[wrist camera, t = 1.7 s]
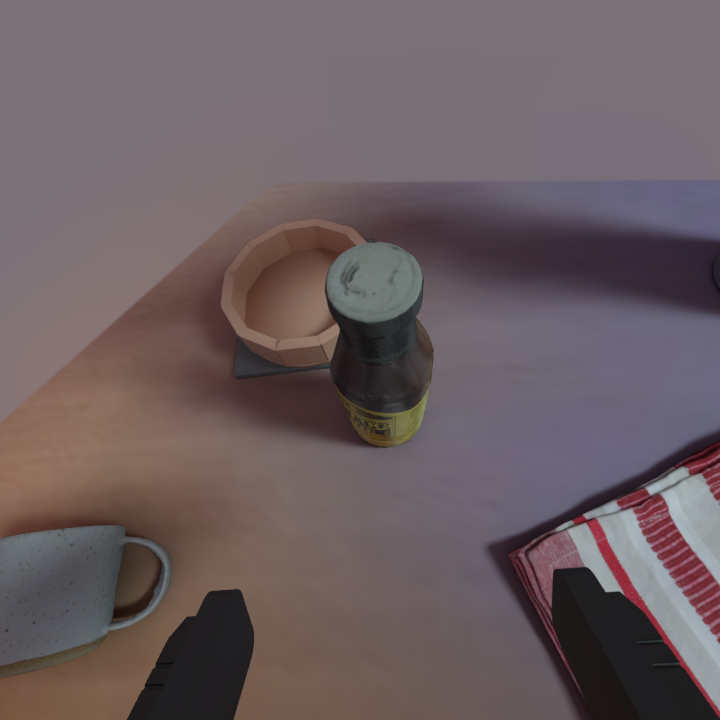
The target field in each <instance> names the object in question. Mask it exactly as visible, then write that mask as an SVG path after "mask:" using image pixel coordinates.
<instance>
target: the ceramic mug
mask: <svg viewBox="0 0 720 720" xmlns="http://www.w3.org/2000/svg"><path fill="white" fill-rule="evenodd" d="M126 543H137V544H140V545H144V546H147V547H148V548H150V549H151V550H152V551H153V552H155V553H156V555H157V556H158V557H159V558H160V559H161V561H162V569H161V574H160V580H159V583H158V585H157V587H156V588H155V589H154V591H153V598H152V599H151V601H150V602H149V604H148V607H146V608H145V609H144V610H143V611H142V612H140V613H139V614H137V615H135V616H134V617H131V618H128V619H125V620H121V621H115V622H114V621H112V617H113V610H114V604H115V593H116V586H117V581H118V575H119V570H120V566H121V559H122V556H123V547H124V544H126ZM170 577H171V562H170V559H169V555H168V554H167V552H166V550H165V549H164V548H163V547H162V546H160V545H159V544H158V543H156V542H154V541H152V540H148V539H144V538H138V537H127V536H126V528H125V527H124V526H120V525H97V526H83V527H74V528H63V529H55V530H46V531H38V532H32V533H26V534H19V535H14V536H9V537H3V538H0V678H4V677H9V676H14V675H19V674H23V673H27V672H32V671H35V670H39V669H43V668H47V667H51V666H54V665H57V664H60V663H64V662H67V661H70V660H73V659H75V658H78V657H81V656H84V655H86V654H88V653H90V652H92V651H93V650H94V649H96V648H97V647H98V646H99V645H100V644H101V643H102V642H103V641H104V640H105V638H106V635H107V633H108V632H109V631H111V630H117V629H122V628H124V627H127V626H130V625H132V624H134V623H136V622H138V621H140V620H141V619H143V618H144V617H146V616H147V615H149V614H150V613H151V612H152V611H153V610H154V609H155V608H156V607H157V606H158V604H159V603H160V602H161V600H162V598H163V597H164V595H165V593H166V591H167V589H168V586H169V582H170Z"/></svg>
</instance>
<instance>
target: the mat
mask: <svg viewBox="0 0 720 720" xmlns="http://www.w3.org/2000/svg"><path fill="white" fill-rule="evenodd" d="M365 241H366V242H367V243H375V241H374V239H371V240H365ZM330 364H331V362H330V363H327V364H324V365H320V366H315V367H310V368H290V367H285V366H280V365H277V364H274V363H271V362H269V361H268V360H266V359H264V358H262V357H261V356H260V355H258V354H256V353H253V352H252V351H251V350H250V349H249V348H248V347H247V345H246V344H245V343H244V342H243V341H242V339H241V338H240V337H239V336H237V346H236V357H235V368H234V377H235V378H236V379H238V378H247V377H256V376H264V375H273V374H282V373H291V372H299V371H308V370H317V369H325V368H330Z"/></svg>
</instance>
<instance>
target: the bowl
mask: <svg viewBox="0 0 720 720" xmlns="http://www.w3.org/2000/svg"><path fill="white" fill-rule="evenodd" d="M363 243H367V242H366V241H365V240H364V239H363V238H362V237H361V236H360V235H359V234H358V233H357V232H356V231H355V230H354V229H353V228H352V227H348V226H345V225H341V224H337V223H334V222H330V221H326V220H323V219H318V218H317V219H310V220H303V221H297V222H290V223H283V224H281V225H280V224H279V225H277V226H276V227H274V228H272V229H270V230H269V231H267V232H265V233H263V234H262V235H260V236H258V237H256V238H255V239H253V240H251V241H249V242H248V244H246V245H245V246H244V247H243V249H242V250H241V251H240V253H239V254H238V255H237V257H236V258H235V259H234V261H233V262H232V263H231V265H230V266H229V267H228V268H227V270H226V271H225V273H224V281H223V289H222V297H221V305H220V306H221V308H222V310H223V311H224V313H225V315H226V316H227V318H228V320H229V321H230V323H231V325H232V326H233V328H234V330H235V331H236V333H237V335H238V336H239V337H240V338H241V339H242V341H243V342H244V343H245V344H246V345H247V347H248V348H249V349H250V350H251V351H252V352H253V353H256V354H258V355H260V356H261V357H262V358H264V359H266V360H268V361H269V362H271V363H274V364H277V365H280V366H285V367H290V368H310V367H315V366H320V365H324V364H327V363H330V362H331V359H332V356H333V353H334V350H335V346H336V343H337V339H338V336H339V331H340V329H339V326H338V323H337V322H336V321H335V320H334V319H333V317H332V315H331V313H330V312H329V308H328V305H327V299H326V294H325V282H326V277H327V272H328V270H329V267H330V266H331V265H332V263H333V262H334V261H335V260H336V258H337V257H338V256H339V255H340V254H342V253H343V252H345V251H346V250H348V249H350V248H352V247H354V246H356V245H359V244H363Z"/></svg>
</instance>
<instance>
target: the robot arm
mask: <svg viewBox="0 0 720 720" xmlns="http://www.w3.org/2000/svg"><path fill="white" fill-rule="evenodd" d="M713 274H714V280H715V282H716V284H717V286H718V288H719V289H720V255H719V256H718V257H717V259H716V261H715V263H714V268H713ZM551 614H552V621H553V626H554V629H555V633H556V636H557V639H558V641H559V644H560V646H561V648H562V650H563V653H564V655H565V657H566V659H567V661H568V664H569V666H570V668H571V670H572V673H573V675H574V677H575V679H576V681H577V684H578V686H579V688H580V690H581V693H582V695H583V697H584V699H585V701H586V704H587V706H588V708H589V710H590V712H591V715H592V717H593V719H594V720H720V718H719V716H718V715H717V714H716V712H715V711H714V709H713V708H712V707H711V705H710V704H709V702H708V701H707V700H706V698H705V697H704V695H703V694H702V693H701V691H700V690H699V688H698V687H697V686H696V684H695V683H694V681H693V680H692V678H691V677H690V676H689V674H688V673H687V671H686V670H685V669H684V667H681V665H680V663H679V660H678V659H677V657H676V656H675V655H674V653H673V652H672V650H671V649H670V648H669V646H668V645H667V644H665V643H664V641H663V638H662V636H661V635H660V634H659V632H658V631H657V629H656V628H655V627H654V625H653V624H652V622H651V621H650V620H649V618H648V617H647V615H646V614H645V613H644V612H643V611H642V610H641V609H640V608H639V607H637V606H636V605H635V604H634V603H633V602H632V601H630V600H629V599H628V598H627V597H626V596H625V595H623V594H622V593H621V592H620V591H615V592H605V590H604V589H603V587H602V585H601V584H600V582H599V581H598V579H597V578H596V576H595V575H594V573H593V572H592V571H591V570H590V569H589V568H588V567H576V568H561V569H554V571H553V583H552V608H551ZM253 646H254V631H253V626H252V623H251V620H250V617H249V614H248V611H247V608H246V605H245V602H244V598H243V595H242V593H241V591H240V590H239V589H234V590H219V591H210V592H209V593H208V594H207V595H206V597H205V598H204V600H203V602H202V605H201V607H200V609H199V611H198V613H197V615H196V616H192V617H186V619H185V620H184V621H183V622H182V623H181V624H180V626H179V627H178V628H177V629H176V630H175V631H174V633H173V634H172V635H171V636H170V637H169V638H168V640H167V642H166V644H165V646H164V648H163V650H162V652H161V654H160V656H159V658H158V660H157V662H156V667H155V668H153V670H152V672H151V674H150V676H149V677H148V679H147V681H146V683H145V688H144V690H142V691H141V693H140V695H139V697H138V699H137V701H136V703H135V705H134V707H133V709H132V711H131V713H130V715H129V717H128V719H127V720H233V719H234V716H235V713H236V709H237V706H238V702H239V699H240V695H241V692H242V689H243V685H244V682H245V678H246V675H247V671H248V668H249V665H250V661H251V657H252V653H253Z"/></svg>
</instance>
